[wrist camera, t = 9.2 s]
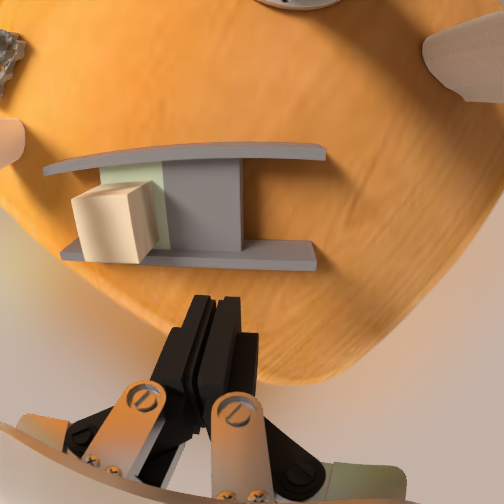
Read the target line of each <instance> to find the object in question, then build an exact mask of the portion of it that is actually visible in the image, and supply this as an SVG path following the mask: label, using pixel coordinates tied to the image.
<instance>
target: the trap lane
mask: <svg viewBox="0 0 504 504" xmlns="http://www.w3.org/2000/svg"><path fill="white" fill-rule="evenodd" d="M243 158H282V159H306V160H323V161H325V159H326V148H324V147H322V146H320V145H318V144H309V143H288V142H212V143H191V144H176V145H164V146H153V147H143V148H135V149H126V150H119V151H112V152H105V153H99V154H93V155H87V156H81V157H76V158H70V159H66V160H63V161H60V162H57V163H54V164H51V165H48V166H45V167H42V168H43V175H44V176H48V175H53V174H59V173H64V172H70V171H77V170H83V169H90V168H97V167H105V166H113V165H122V164H131V163H142V162H154V161H162V172H163V184H164V195H165V205H166V214H167V223H168V231H169V239H170V247H171V250H162V249H151V250H150V251H149V253H148V254H147V255H146V256H145V257H144V259H143V260H142V261H141V262H140V263H139V264H138V265H158V266H180V267H203V268H229V269H258V270H292V271H316V266H317V260H316V256H315V252H314V249H313V245H312V242H311V241H294V240H259V239H244V202H243ZM60 255H61V258H62V260H70V261H85V258H84V255H83V251H82V247H81V243H80V239H79V238H78V239H76V240H75V241H74V242H72V243H71V244H70V245H68V246H67V247H66V248H65V249H63V250H62V251H61V252H60ZM85 262H87V261H85ZM102 263H110V262H102ZM120 264H135V263H120Z"/></svg>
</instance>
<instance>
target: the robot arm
mask: <svg viewBox="0 0 504 504" xmlns="http://www.w3.org/2000/svg"><path fill="white" fill-rule="evenodd" d="M257 1H259V2H262V3H264V4H267V5H270V6H274V7H277V8H282V9H289V10H313V9H320V8H324V7H328V6H331V5H333V4H335V3H338V2H339V1H341V0H257ZM283 1H287V3H284V2H283ZM258 342H259V334H258V333H246V332H241V306H240V297H227V296H225V298H224V300H219V302H218V305H217V309H216V301H215V300H211V297H210V296H208V295H195V296H194V298H193V300H192V303H191V305H190V307H189V310H188V312H187V315H186V317H185V320H184V322H183V325H182V327H181V328H179V327H173V328H172V329H171V331H170V333H169V335H168V338H167V340H166V342H165V345H164V347H163V350H162V352H161V354H160V357H159V359H158V362H157V364H156V366H155V369H154V371H153V374H152V376H151V379H150V381H149V380H143V381H137V382H135V383H133V384H131V385H129V386H128V387H127V388H126V390H125V391H124V392H123V394H122V395H121V397H120V398H119V400H118V401H117V403H116V404H115V406H113V407H110V408H108V409H106V410H103V411H101V412H99V413H96V414H94V415H92V416H89V417H87V418H84V419H82V420H79V421H77V422H75V423H73V424H72V423H70V422H69V421H66V420H60V419H54V418H49V417H44V416H39V415H35V414H27V415H24V416H23V417H21V419H20V420H19V422H18V424H17V427H16V428H15V427H13V426H11V425H8V424H6V423H2V422H0V504H419V503H415V502H411V501H405V497H406V487H407V479H406V475H405V473H404V472H403V471H402V470H401V469H400V468H398V467H395V466H386V465H363V464H362V465H361V464H349V463H339V462H334V463H333V464H331V463H323V462H319V461H318V460H317V459H316V458H315V457H313V456H312V455H311V454H310V453H308V452H307V451H306V450H304V449H303V448H302V447H300V446H299V445H298V444H297V443H295V442H294V441H293V440H292V439H290V438H289V437H288V436H287V435H285V434H284V433H283V432H282V431H281V430H279V429H278V428H277V427H276V426H275V425H273V424H272V423H271V422H270V421H269V420H268V419H266V418H265V417H264V416H263V409H262V406H261V403H260V402H259V401H258V400H257V399H256V398H255V390H256V379H257V366H258ZM200 427H202V428H205V427H206V429H207V432H208V435H209V438H210V441H211V481H212V482H211V483H212V498H207V497H201V496H195V495H190V494H184V493H179V492H174V491H170V490H166V488H167V486H168V484H169V481H170V479H171V477H172V475H173V472H174V470H175V468H176V465H177V463H178V461H179V459H180V456H181V454H182V452H183V450H184V447H185V443H186V441H188V440H189V439H191V438H192V435H193V434H199V432H200Z"/></svg>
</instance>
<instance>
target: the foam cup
mask: <svg viewBox="0 0 504 504" xmlns="http://www.w3.org/2000/svg"><path fill="white" fill-rule="evenodd" d="M25 142H26V140H25V129H24V126H23V123H22V122H21V121H20V120H19V119H16V118H0V170H1V169H3V168H4V167H6V166H8V165H10V164H12V163H13V162H15V161H17V160H18V159H20V157H21V155H22V153H23V152H24V147H25Z"/></svg>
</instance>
